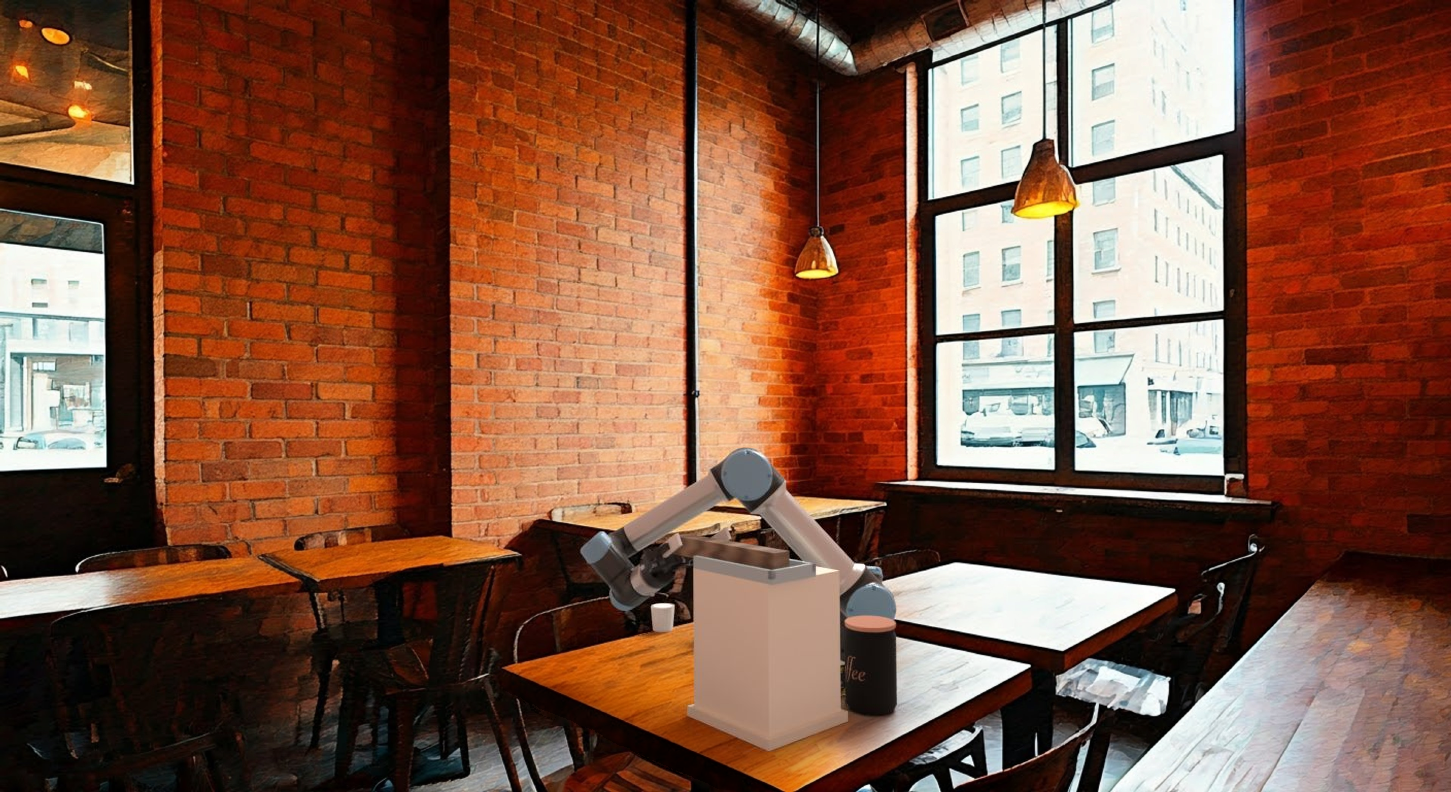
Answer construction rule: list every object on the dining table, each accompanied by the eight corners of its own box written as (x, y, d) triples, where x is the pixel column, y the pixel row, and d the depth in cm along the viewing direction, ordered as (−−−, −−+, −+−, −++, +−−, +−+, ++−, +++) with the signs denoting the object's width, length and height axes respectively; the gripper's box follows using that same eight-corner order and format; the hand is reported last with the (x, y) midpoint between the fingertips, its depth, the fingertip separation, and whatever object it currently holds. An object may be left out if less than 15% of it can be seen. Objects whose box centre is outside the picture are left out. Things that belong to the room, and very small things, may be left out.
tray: (693, 568, 166) (693, 556, 166) (736, 561, 174) (736, 549, 174) (771, 585, 149) (771, 571, 149) (816, 576, 156) (815, 563, 157)
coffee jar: (840, 700, 174) (839, 616, 174) (888, 698, 175) (887, 614, 175) (852, 718, 163) (851, 628, 164) (903, 716, 164) (902, 627, 165)
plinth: (687, 715, 165) (686, 568, 166) (764, 691, 180) (763, 555, 180) (768, 751, 147) (767, 585, 148) (847, 721, 161) (846, 570, 162)
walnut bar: (672, 553, 178) (672, 535, 178) (687, 551, 180) (687, 534, 181) (774, 574, 154) (774, 553, 154) (789, 571, 156) (789, 550, 156)
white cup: (671, 633, 229) (671, 608, 229) (647, 632, 231) (647, 607, 231) (677, 627, 236) (677, 603, 236) (654, 626, 237) (654, 602, 238)
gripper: (700, 581, 193) (752, 546, 180) (612, 597, 177) (662, 559, 163) (690, 552, 196) (741, 515, 183) (603, 565, 180) (651, 525, 166)
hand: (704, 535), depth 173 cm, fingers open, 13 cm apart
